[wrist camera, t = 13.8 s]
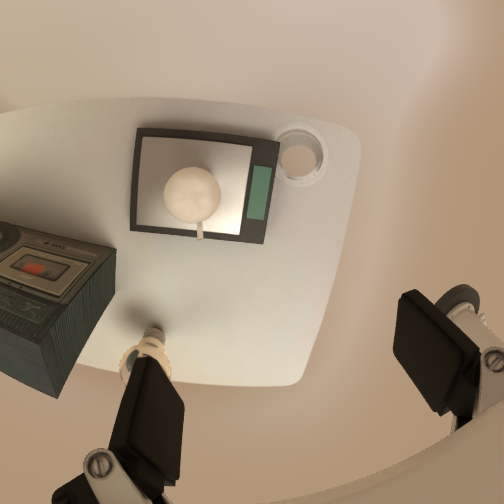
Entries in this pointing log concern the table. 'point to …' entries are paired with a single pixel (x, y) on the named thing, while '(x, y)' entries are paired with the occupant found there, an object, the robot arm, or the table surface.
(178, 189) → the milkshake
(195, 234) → the scale
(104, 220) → the table surface
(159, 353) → the light bulb
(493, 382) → the robot arm
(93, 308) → the cassette player
